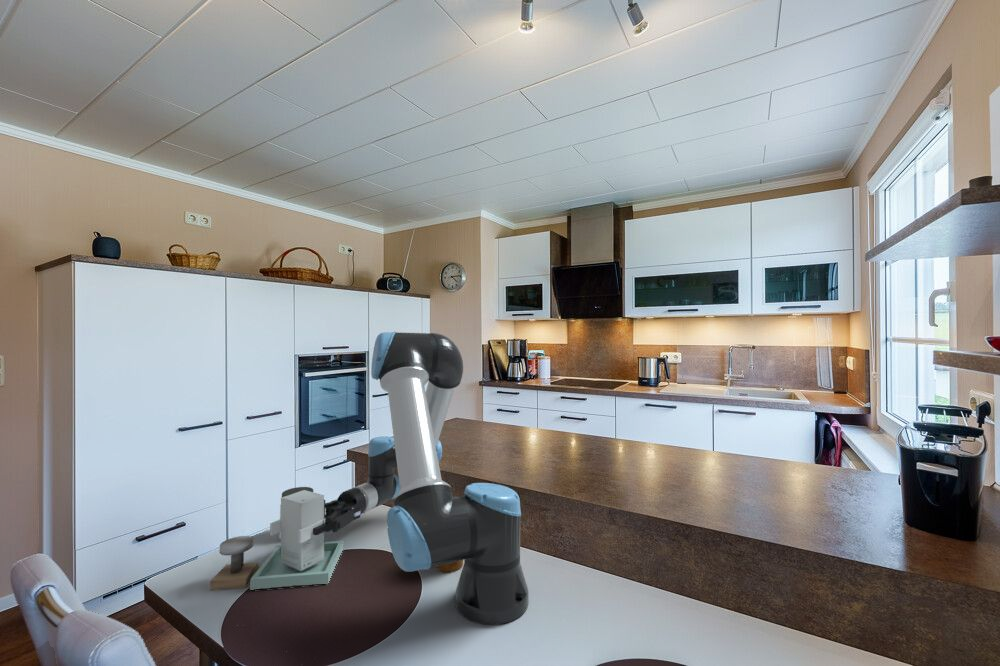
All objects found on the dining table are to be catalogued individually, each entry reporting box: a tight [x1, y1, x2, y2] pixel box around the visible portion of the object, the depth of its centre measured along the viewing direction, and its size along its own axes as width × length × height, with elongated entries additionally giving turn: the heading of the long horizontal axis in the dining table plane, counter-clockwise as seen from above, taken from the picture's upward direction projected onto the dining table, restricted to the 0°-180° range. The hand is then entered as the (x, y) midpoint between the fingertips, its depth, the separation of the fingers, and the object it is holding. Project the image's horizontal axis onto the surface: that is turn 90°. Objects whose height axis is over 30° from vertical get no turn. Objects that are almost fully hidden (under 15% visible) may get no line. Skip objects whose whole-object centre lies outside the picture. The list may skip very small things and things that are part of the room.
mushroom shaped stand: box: [209, 535, 260, 591], centre depth 93 cm, size 7×7×8 cm
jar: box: [278, 486, 314, 540], centre depth 116 cm, size 9×8×12 cm
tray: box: [249, 540, 344, 591], centre depth 98 cm, size 16×16×2 cm
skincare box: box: [280, 490, 325, 571], centre depth 98 cm, size 8×7×16 cm
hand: (285, 533), depth 94 cm, fingers closed on skincare box, 9 cm apart
